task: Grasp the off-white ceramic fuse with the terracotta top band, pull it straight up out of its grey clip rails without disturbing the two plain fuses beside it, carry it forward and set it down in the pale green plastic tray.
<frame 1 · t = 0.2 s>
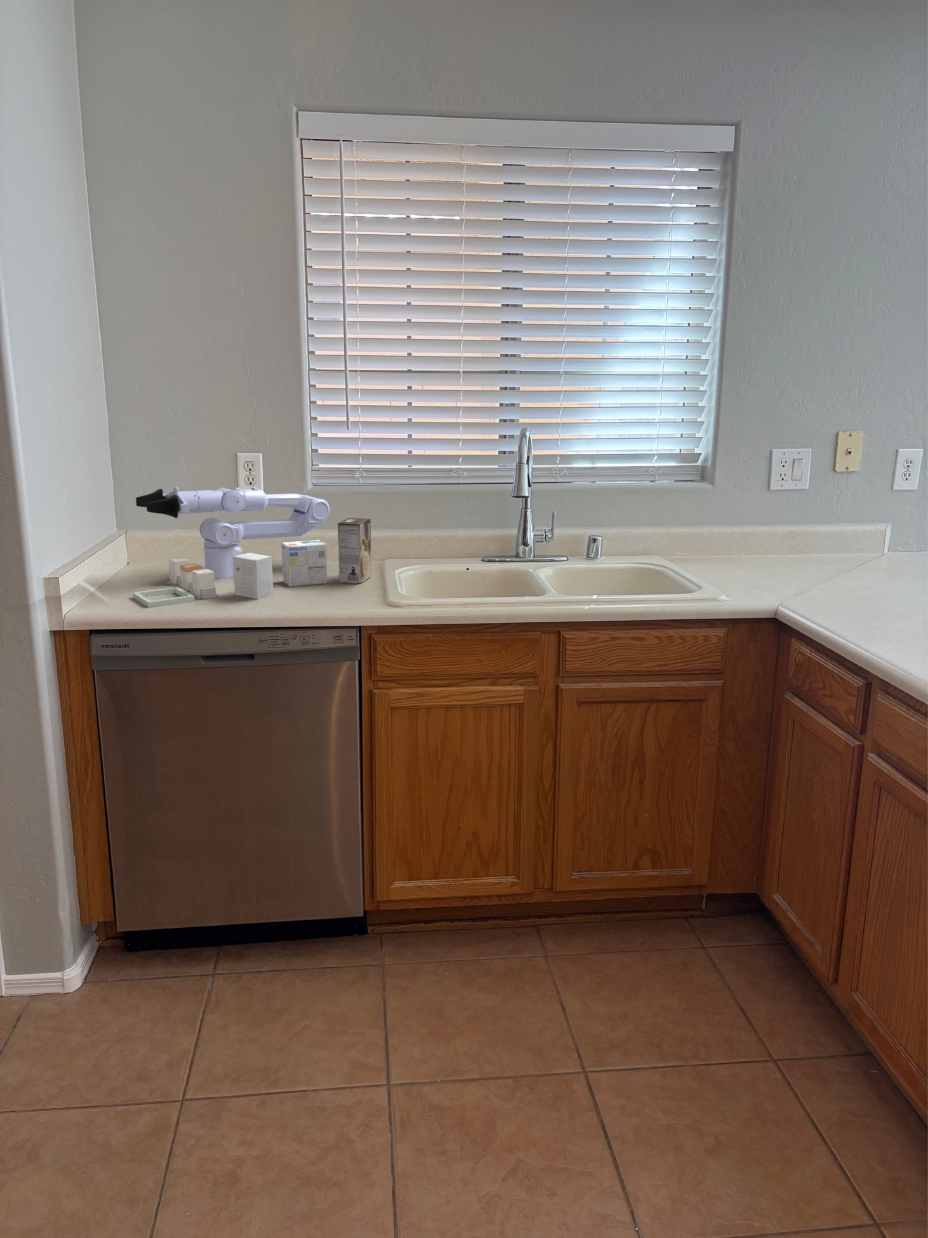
hand: (141, 504, 229), 21 cm above the table, tool horizontal, fingers open, 7 cm apart
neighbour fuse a: (180, 582, 237), point 1 cm above the table, touching fuse holder
coffee box: (355, 580, 248), on the table
tray: (164, 602, 221), on the table
fuse holder: (192, 591, 232), on the table
light bulb box: (304, 583, 244), on the table
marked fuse: (192, 588, 231), point 1 cm above the table, touching fuse holder
small box: (254, 598, 227), on the table
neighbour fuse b: (204, 595, 225), point 1 cm above the table, touching fuse holder
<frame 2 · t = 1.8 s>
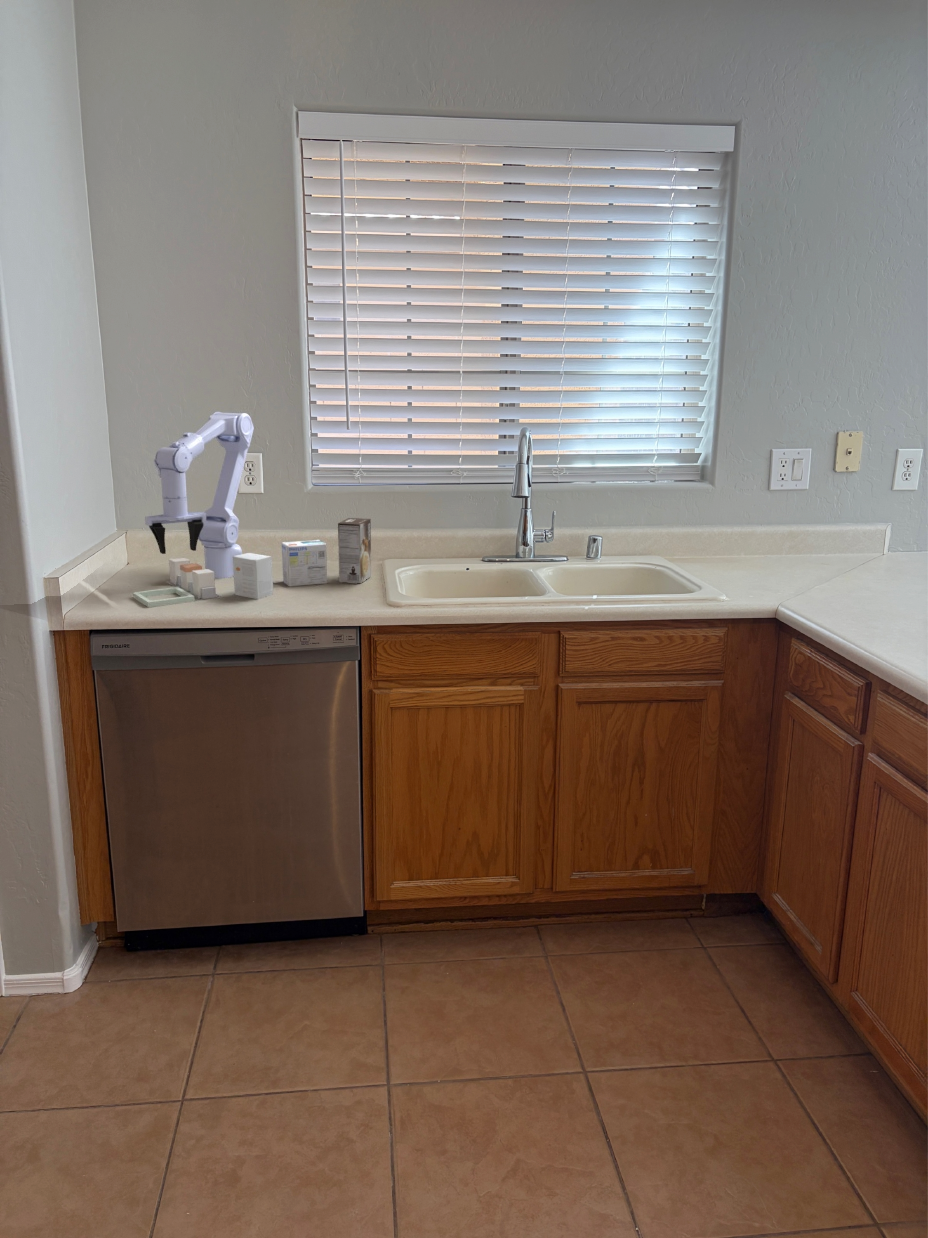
hand: (178, 551, 229), 10 cm above the table, tool pointing down, fingers open, 7 cm apart
nothing on the table moved.
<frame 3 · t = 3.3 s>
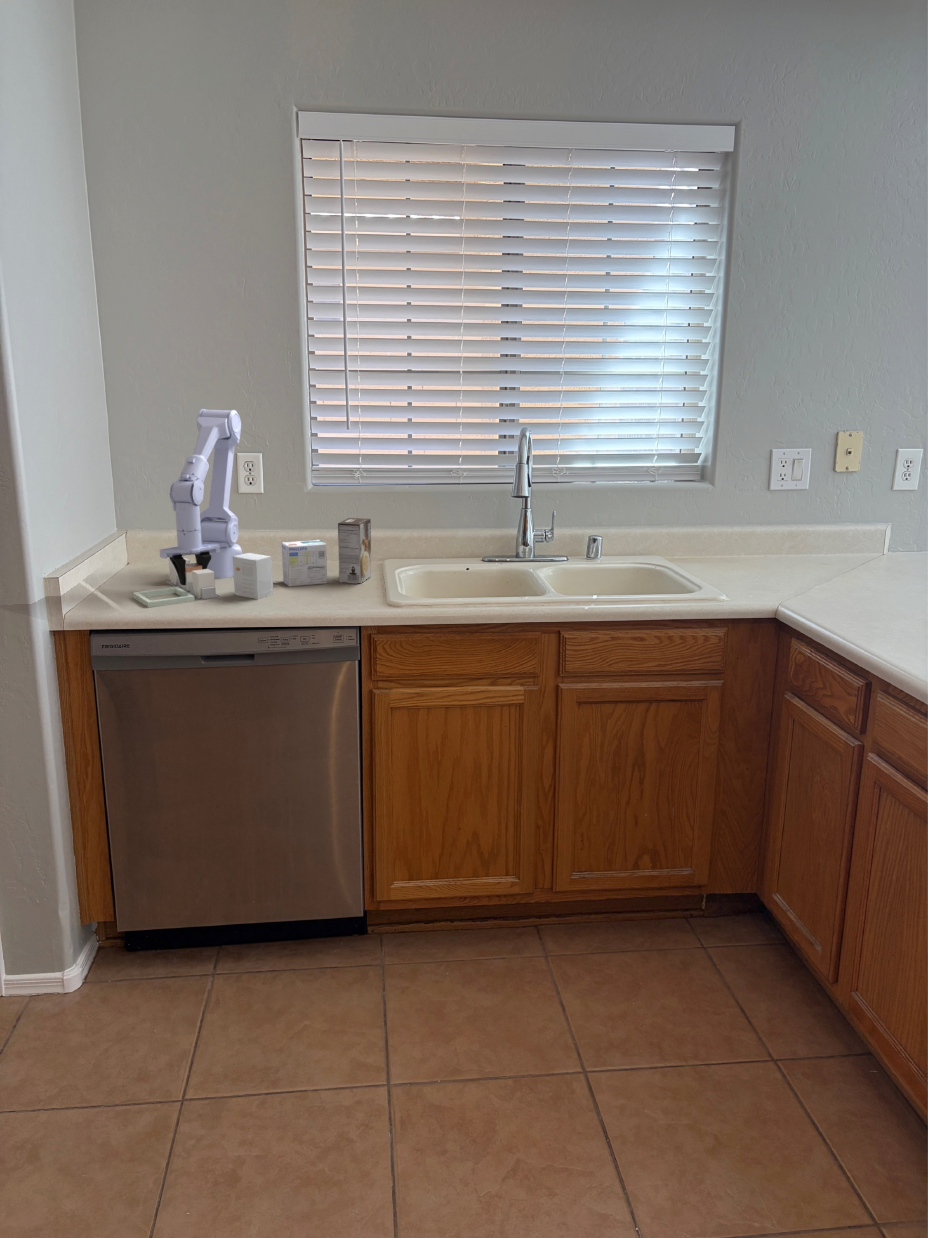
hand: (191, 583, 231), 2 cm above the table, tool pointing down, fingers closed on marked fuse, 4 cm apart
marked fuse: (192, 588, 231), point 1 cm above the table, touching fuse holder, gripper
everything else where it was.
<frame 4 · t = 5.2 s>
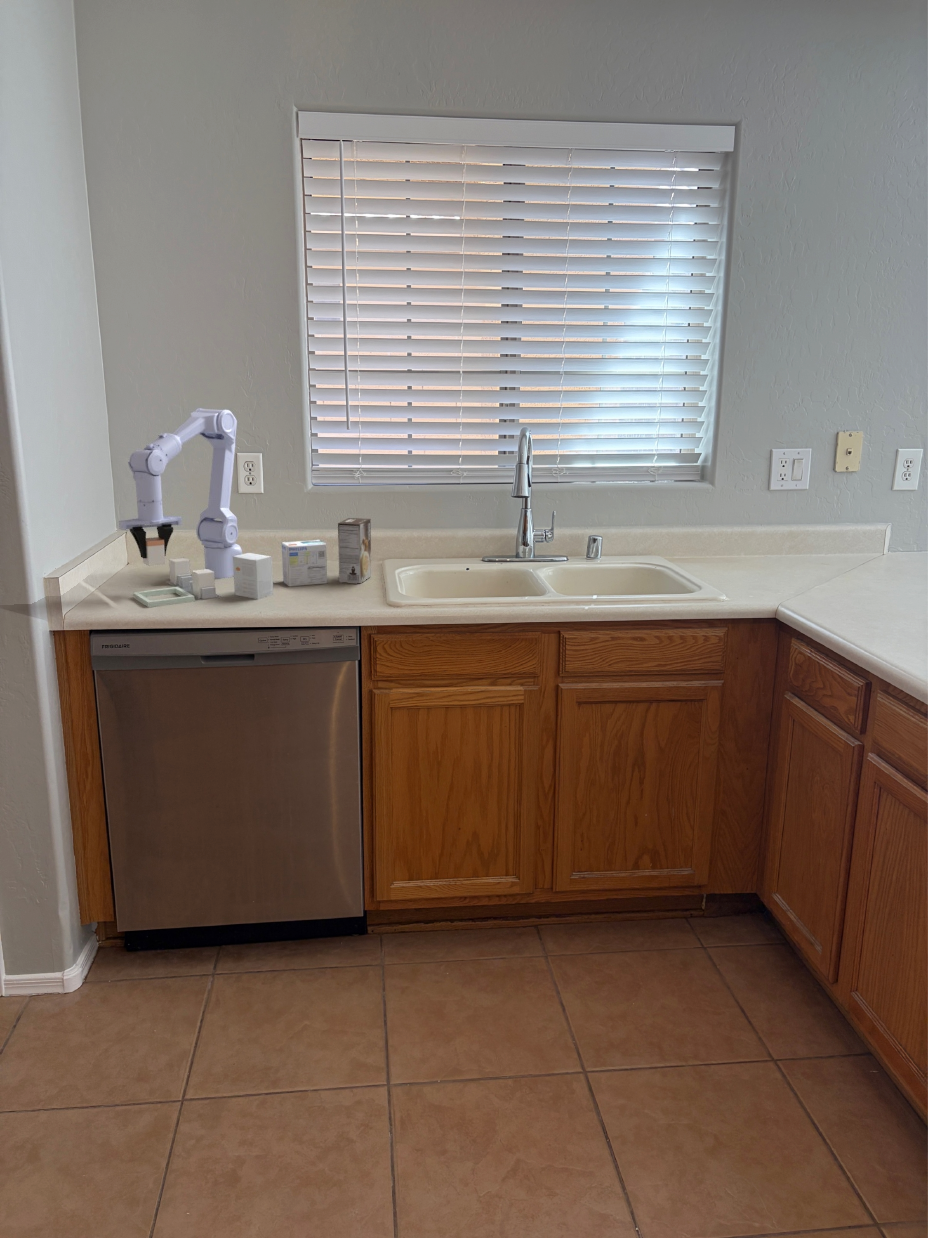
hand: (153, 556, 223), 10 cm above the table, tool pointing down, fingers closed on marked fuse, 4 cm apart
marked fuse: (154, 563, 224), point 8 cm above the table, touching gripper
everything else where it was.
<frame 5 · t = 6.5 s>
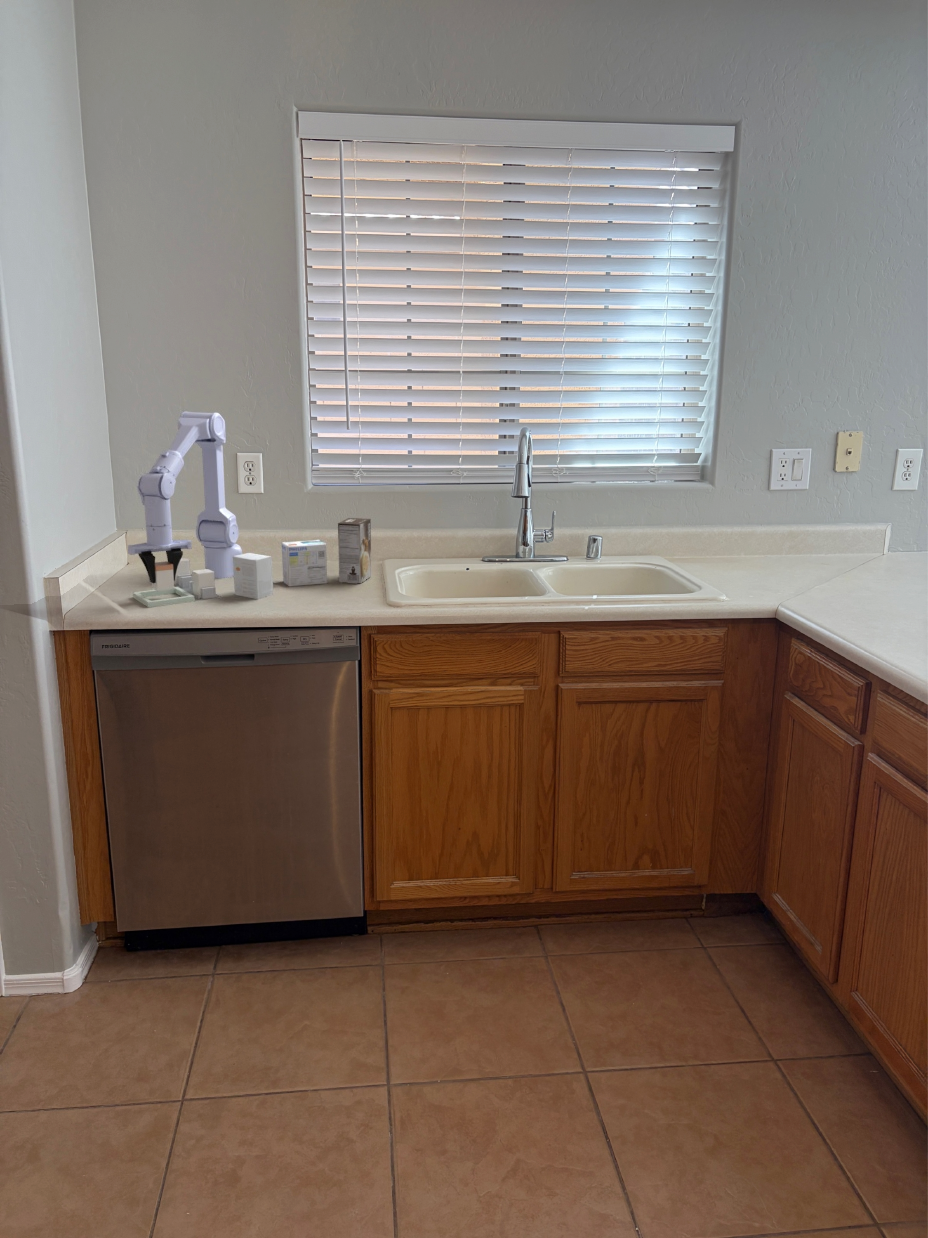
hand: (162, 581, 220), 5 cm above the table, tool pointing down, fingers closed on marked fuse, 4 cm apart
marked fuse: (163, 588, 220), point 3 cm above the table, touching gripper
everything else where it was.
when the fingers open (3 cm above the table, at t = 7.3 s): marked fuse drops 1 cm, resting on tray.
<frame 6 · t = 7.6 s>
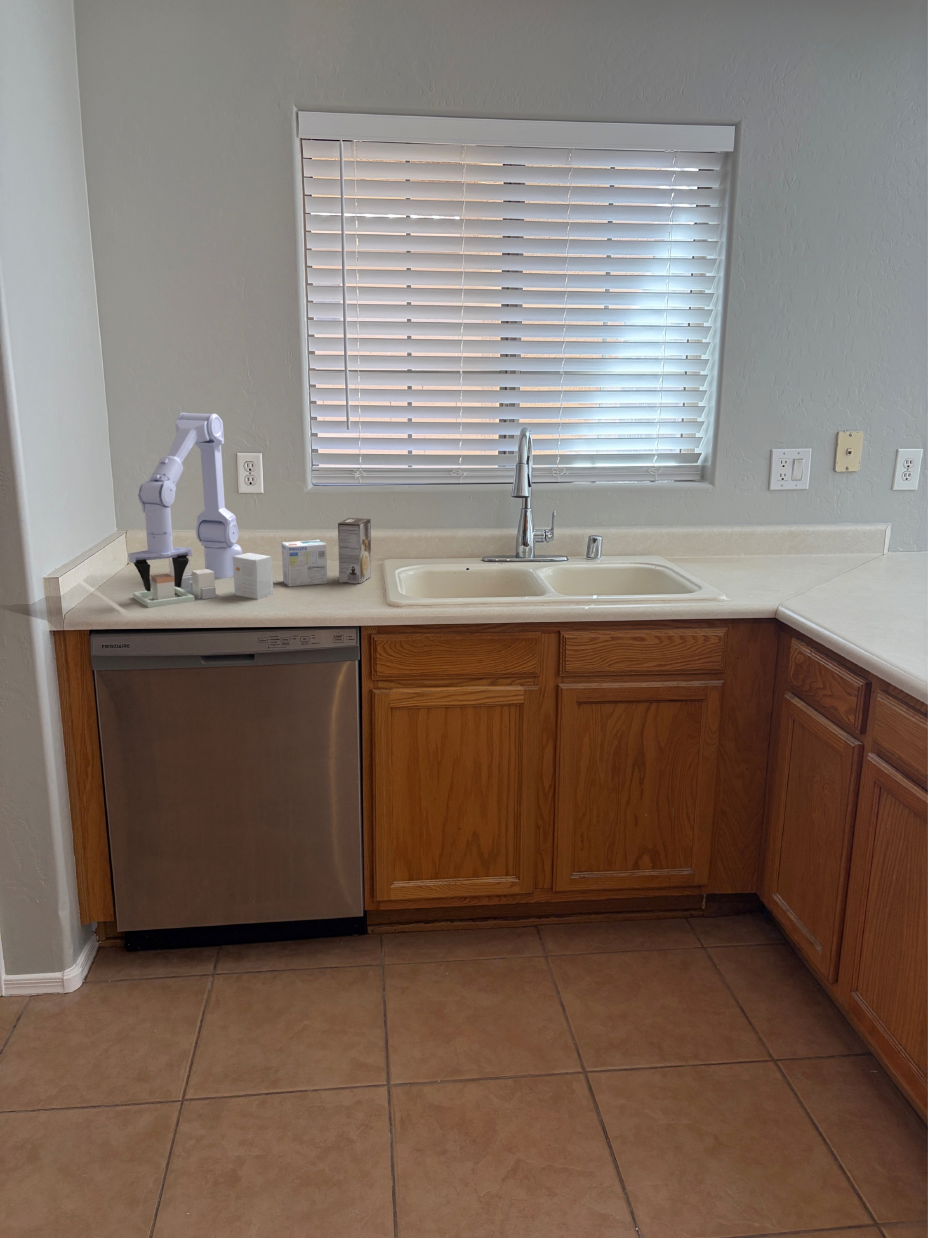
hand: (163, 588, 220), 3 cm above the table, tool pointing down, fingers open, 7 cm apart
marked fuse: (164, 600, 221), resting on tray
everything else where it was.
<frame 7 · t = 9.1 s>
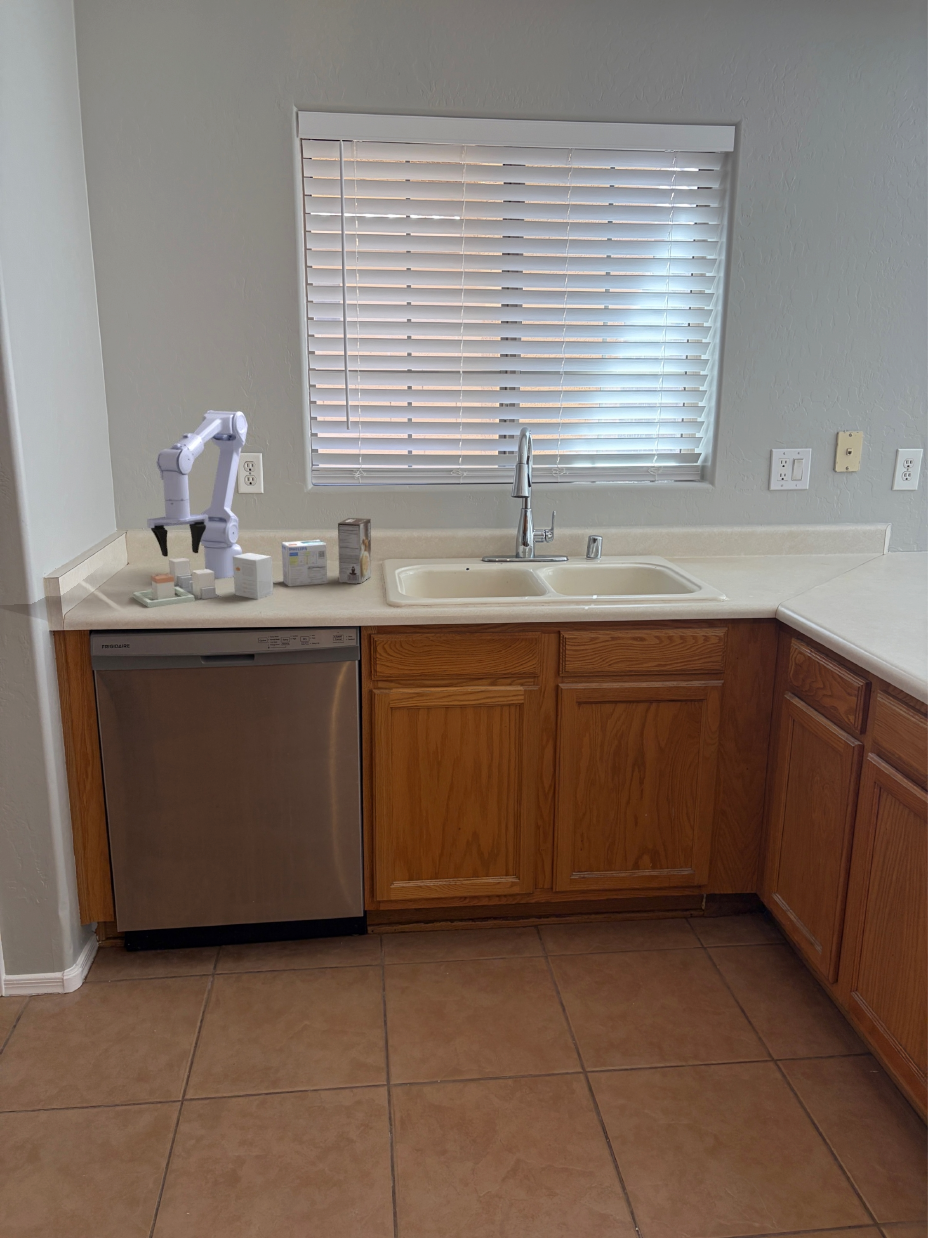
hand: (180, 554, 227), 10 cm above the table, tool pointing down, fingers open, 7 cm apart
nothing on the table moved.
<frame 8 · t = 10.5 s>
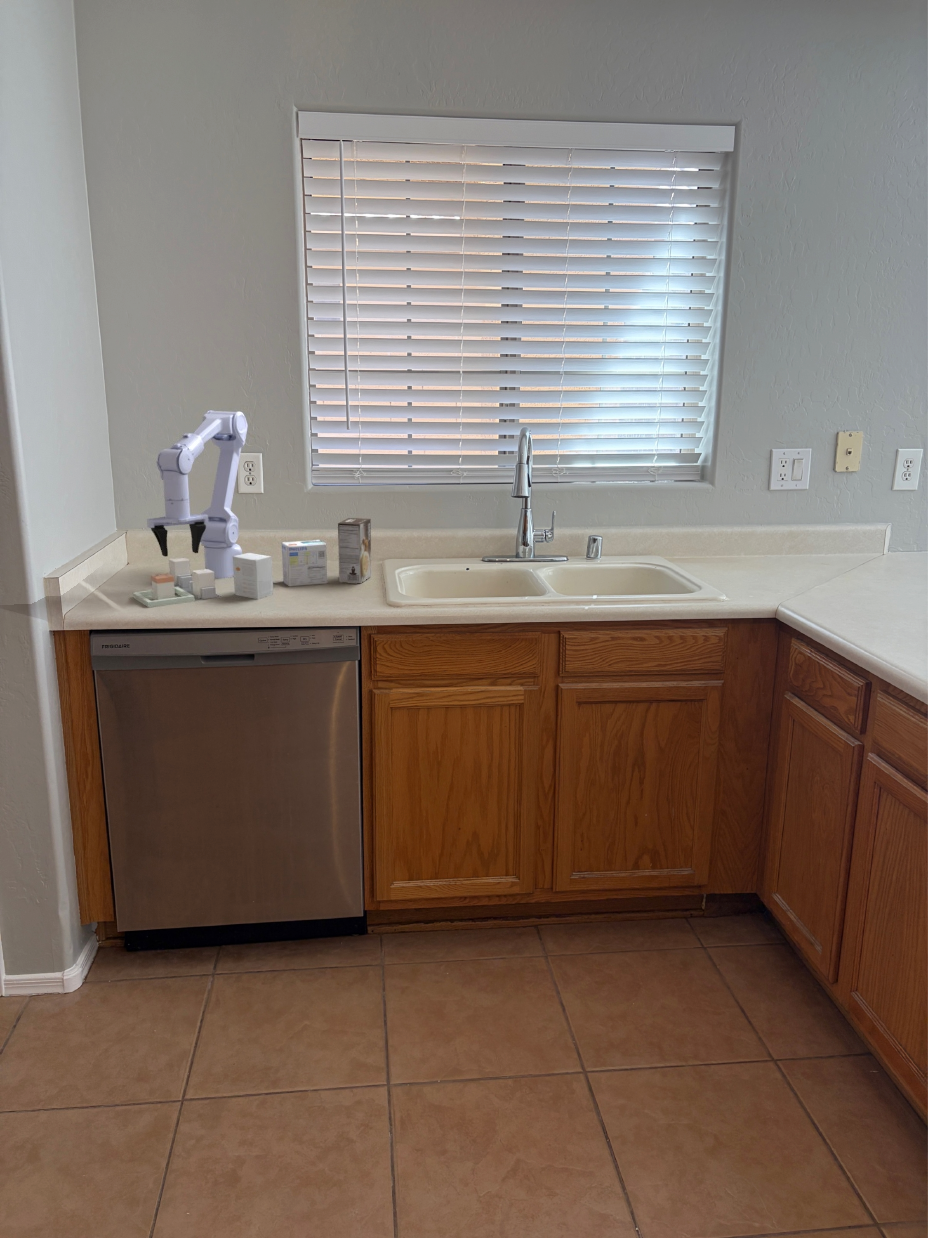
hand: (180, 554, 227), 10 cm above the table, tool pointing down, fingers open, 7 cm apart
nothing on the table moved.
at the end: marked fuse inside the target area on the tray (0.1 cm from its centre), point 0.5 cm above the tray's base; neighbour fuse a moved 0.0 cm from its start; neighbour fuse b moved 0.0 cm from its start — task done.
